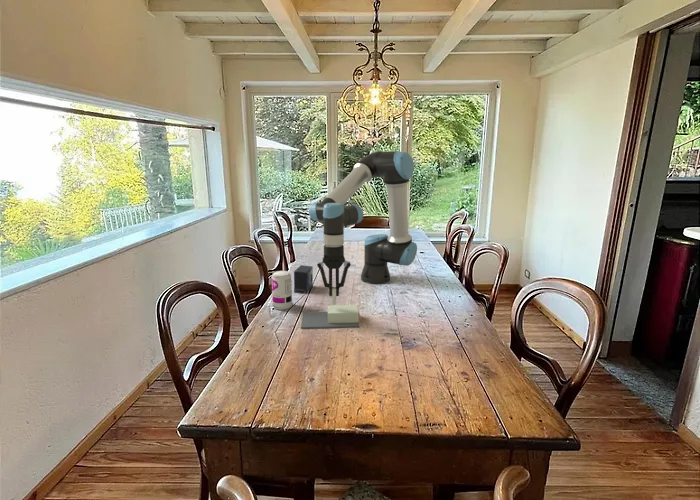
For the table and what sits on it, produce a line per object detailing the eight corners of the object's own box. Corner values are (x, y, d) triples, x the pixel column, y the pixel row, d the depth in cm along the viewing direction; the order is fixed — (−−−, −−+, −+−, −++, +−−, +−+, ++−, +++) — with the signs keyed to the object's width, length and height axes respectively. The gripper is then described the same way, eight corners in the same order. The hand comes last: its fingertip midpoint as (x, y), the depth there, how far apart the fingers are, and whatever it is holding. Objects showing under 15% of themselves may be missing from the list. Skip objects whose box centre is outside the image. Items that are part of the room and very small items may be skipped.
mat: (356, 312, 166) (356, 311, 165) (359, 327, 152) (359, 325, 152) (302, 313, 164) (302, 312, 164) (300, 328, 151) (300, 327, 151)
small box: (307, 293, 187) (306, 272, 184) (293, 292, 188) (293, 271, 185) (313, 286, 197) (313, 265, 194) (300, 285, 198) (300, 264, 195)
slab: (327, 314, 162) (357, 314, 163) (327, 323, 154) (359, 322, 155) (327, 305, 161) (357, 304, 162) (327, 313, 153) (359, 312, 154)
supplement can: (276, 311, 166) (274, 277, 162) (270, 305, 173) (268, 271, 170) (294, 308, 170) (293, 274, 166) (288, 301, 177) (287, 269, 173)
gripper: (350, 242, 155) (350, 299, 161) (316, 242, 154) (317, 300, 160) (351, 246, 147) (351, 307, 153) (316, 247, 147) (317, 307, 152)
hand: (334, 303), depth 157 cm, fingers closed
